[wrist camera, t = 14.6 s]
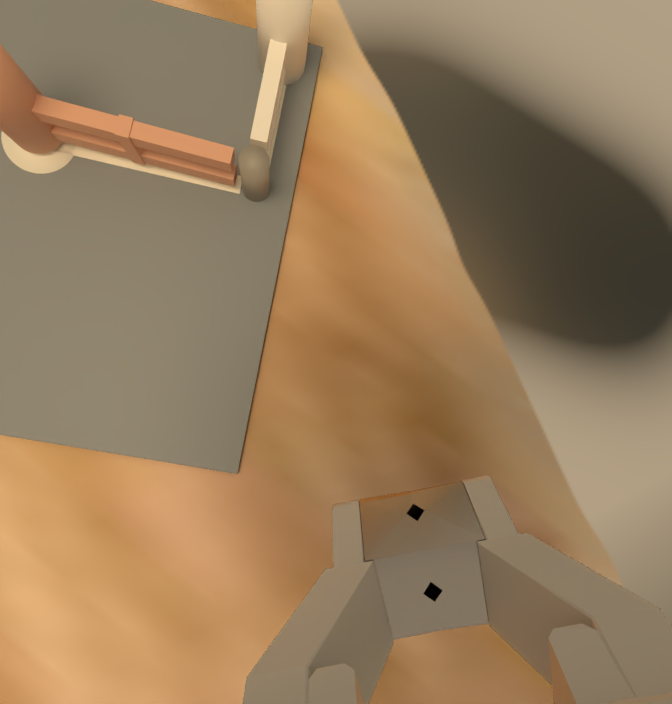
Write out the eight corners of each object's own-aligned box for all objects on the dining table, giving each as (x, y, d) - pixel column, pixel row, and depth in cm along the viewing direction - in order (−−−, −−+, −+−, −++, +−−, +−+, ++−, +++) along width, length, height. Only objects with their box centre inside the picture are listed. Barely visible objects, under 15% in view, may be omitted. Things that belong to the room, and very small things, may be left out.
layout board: (-109, 415, 32) (-114, 416, 31) (-2, -37, 33) (-5, -43, 33) (237, 472, 34) (237, 474, 34) (321, 50, 36) (322, 46, 35)
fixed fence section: (229, 196, 34) (216, 140, 26) (263, 34, 35) (261, -73, 27) (276, 207, 35) (279, 155, 26) (309, 46, 35) (321, -55, 27)
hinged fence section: (18, 98, 32) (-93, -21, 22) (242, 158, 34) (230, 72, 24) (5, 146, 32) (-113, 47, 22) (231, 204, 34) (215, 136, 24)
